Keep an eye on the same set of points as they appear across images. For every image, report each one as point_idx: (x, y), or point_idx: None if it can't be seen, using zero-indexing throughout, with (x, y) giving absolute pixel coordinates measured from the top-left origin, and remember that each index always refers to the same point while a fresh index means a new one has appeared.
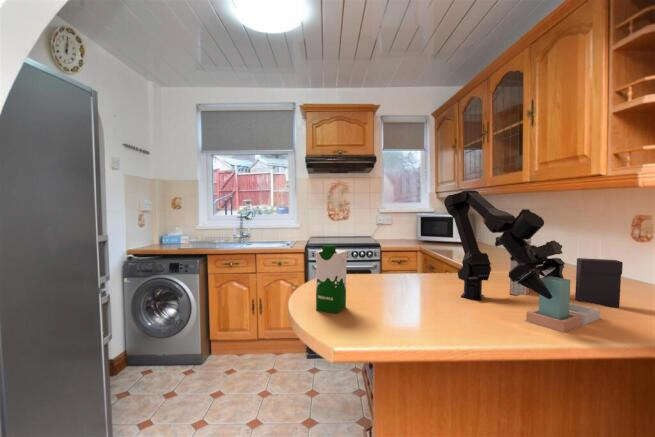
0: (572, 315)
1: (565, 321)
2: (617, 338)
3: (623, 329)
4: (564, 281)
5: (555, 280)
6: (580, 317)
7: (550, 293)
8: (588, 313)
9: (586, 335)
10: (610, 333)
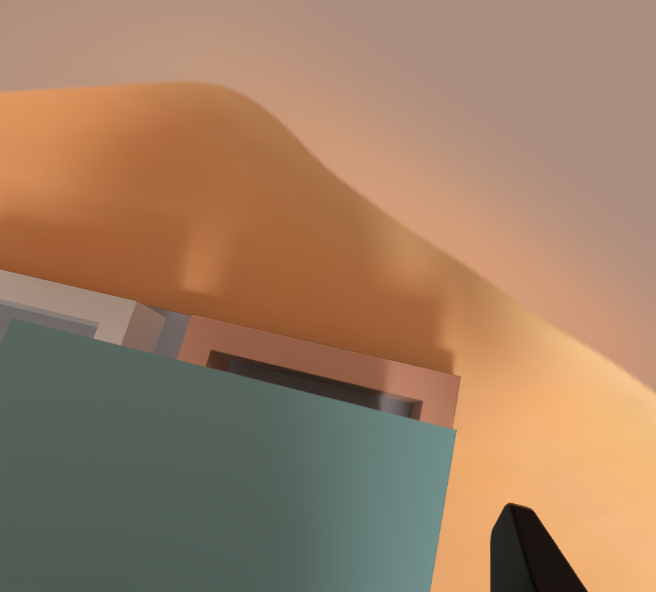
0: (204, 366)
1: (425, 373)
2: (238, 177)
3: (50, 174)
4: (279, 385)
5: (362, 578)
6: (205, 317)
7: (525, 546)
8: (71, 289)
9: (310, 292)
10: (174, 210)
